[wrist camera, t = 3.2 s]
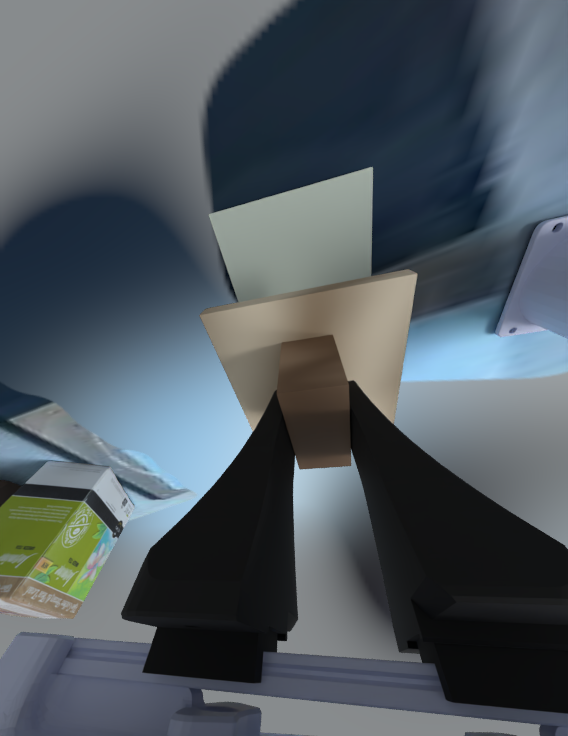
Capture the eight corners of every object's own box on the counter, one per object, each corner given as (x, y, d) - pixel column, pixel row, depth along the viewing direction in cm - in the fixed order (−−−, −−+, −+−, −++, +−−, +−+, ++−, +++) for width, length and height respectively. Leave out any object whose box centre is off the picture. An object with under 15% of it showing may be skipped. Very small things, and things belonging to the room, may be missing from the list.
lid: (408, 269, 9) (485, 306, 5) (388, 415, 14) (420, 482, 10) (205, 308, 10) (157, 359, 6) (257, 428, 15) (246, 491, 12)
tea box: (138, 505, 42) (74, 621, 30) (87, 500, 41) (1, 615, 29) (111, 465, 33) (6, 605, 21) (46, 458, 33) (-99, 596, 21)
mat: (369, 168, 12) (372, 166, 12) (368, 326, 18) (370, 329, 17) (211, 214, 14) (208, 214, 13) (255, 345, 19) (254, 349, 19)
